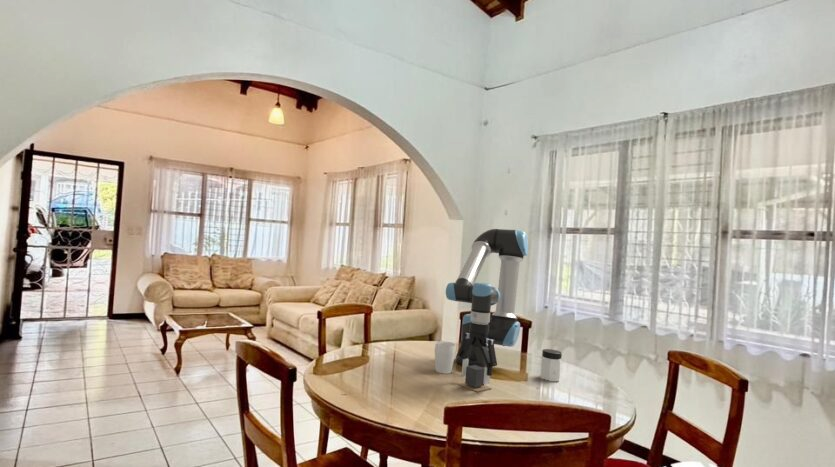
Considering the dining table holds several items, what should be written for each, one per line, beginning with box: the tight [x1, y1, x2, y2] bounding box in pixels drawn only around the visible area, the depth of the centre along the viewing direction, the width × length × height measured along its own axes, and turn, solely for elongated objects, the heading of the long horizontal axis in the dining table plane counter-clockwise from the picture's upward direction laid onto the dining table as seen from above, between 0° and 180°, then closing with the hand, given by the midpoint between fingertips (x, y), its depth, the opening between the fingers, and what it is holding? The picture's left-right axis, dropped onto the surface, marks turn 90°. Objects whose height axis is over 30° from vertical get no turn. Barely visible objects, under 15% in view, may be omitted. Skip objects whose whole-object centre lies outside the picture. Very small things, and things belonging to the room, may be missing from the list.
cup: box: [434, 340, 457, 375], centre depth 193 cm, size 9×9×12 cm
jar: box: [539, 348, 562, 382], centre depth 196 cm, size 9×8×12 cm
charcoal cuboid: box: [464, 365, 485, 387], centre depth 174 cm, size 5×5×7 cm
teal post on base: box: [458, 381, 492, 393], centre depth 174 cm, size 10×8×7 cm
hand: (475, 379), depth 174 cm, fingers open, 10 cm apart
